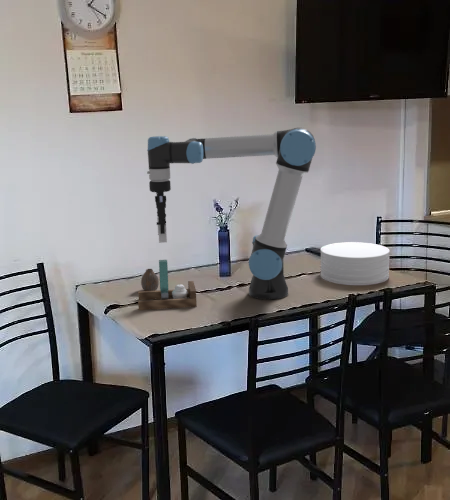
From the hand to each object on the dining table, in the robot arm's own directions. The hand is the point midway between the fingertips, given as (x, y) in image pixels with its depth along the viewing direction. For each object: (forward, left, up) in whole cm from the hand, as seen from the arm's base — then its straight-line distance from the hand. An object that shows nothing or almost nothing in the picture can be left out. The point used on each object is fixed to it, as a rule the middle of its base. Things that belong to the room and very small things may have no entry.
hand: (162, 238), depth 252 cm
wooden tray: (0, -1, -25) cm, 25 cm away
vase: (+17, -7, -25) cm, 31 cm away
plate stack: (-33, -76, -25) cm, 86 cm away
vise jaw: (0, 0, -24) cm, 24 cm away
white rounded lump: (-4, -4, -25) cm, 25 cm away
